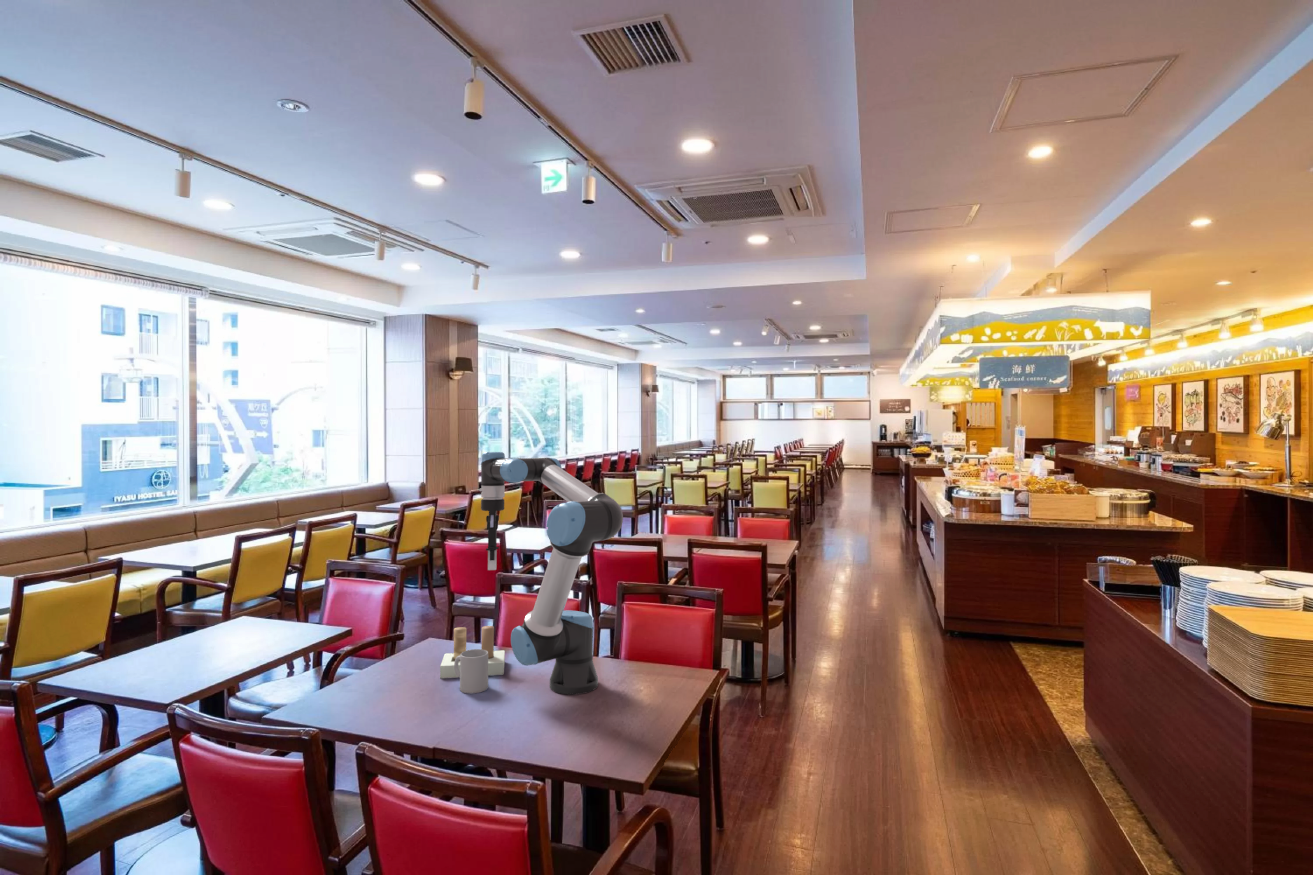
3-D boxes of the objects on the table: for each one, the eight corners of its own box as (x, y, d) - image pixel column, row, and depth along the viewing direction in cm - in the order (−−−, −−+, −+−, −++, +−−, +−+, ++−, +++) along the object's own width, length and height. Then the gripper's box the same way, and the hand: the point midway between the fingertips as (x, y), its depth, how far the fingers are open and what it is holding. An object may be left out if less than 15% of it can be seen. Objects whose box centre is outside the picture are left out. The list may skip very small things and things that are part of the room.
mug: (493, 686, 209) (494, 651, 209) (475, 695, 201) (475, 659, 201) (464, 680, 214) (464, 645, 214) (445, 688, 206) (445, 653, 206)
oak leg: (466, 668, 225) (467, 626, 225) (465, 672, 221) (466, 630, 221) (454, 668, 224) (454, 627, 224) (452, 673, 220) (453, 630, 220)
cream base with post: (504, 661, 232) (504, 621, 232) (503, 674, 219) (503, 631, 219) (444, 665, 228) (445, 624, 228) (440, 678, 215) (440, 635, 215)
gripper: (482, 496, 226) (481, 566, 226) (479, 500, 213) (479, 573, 213) (504, 496, 227) (504, 565, 227) (503, 499, 215) (503, 573, 214)
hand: (492, 569), depth 220 cm, fingers closed
